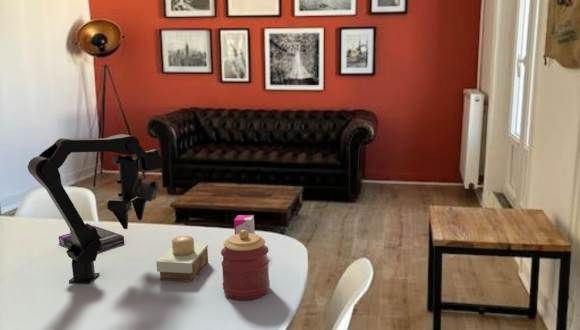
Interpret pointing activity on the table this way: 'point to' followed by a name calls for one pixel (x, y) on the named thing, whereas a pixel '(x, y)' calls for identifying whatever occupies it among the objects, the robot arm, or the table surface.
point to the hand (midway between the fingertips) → (133, 224)
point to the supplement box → (244, 223)
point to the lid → (179, 260)
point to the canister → (245, 266)
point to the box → (107, 239)
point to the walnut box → (196, 268)
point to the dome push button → (183, 245)
